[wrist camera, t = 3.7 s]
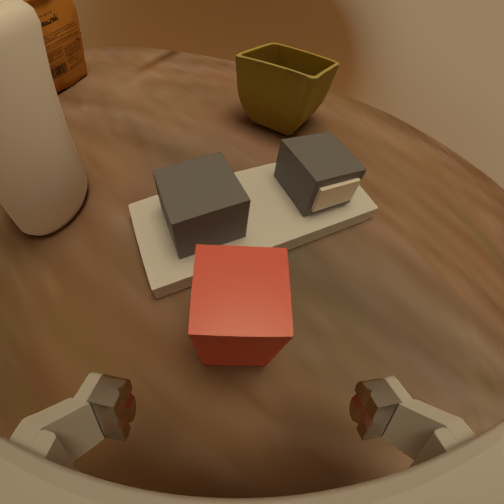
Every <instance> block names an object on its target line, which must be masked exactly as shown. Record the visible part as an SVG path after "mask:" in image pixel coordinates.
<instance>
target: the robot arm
mask: <svg viewBox="0 0 504 504" xmlns="http://www.w3.org/2000/svg"><path fill="white" fill-rule="evenodd" d="M131 390H132V385H131V381H130V380H129V379H125V378H120V377H115V376H110V375H105V374H104V375H103V374H99V373H95V372H91V373H89V375H88V376H87V378H86V379H85V381H84V382H83V384H82V385H81V387H80V389H79V390H78V392H77V393H76V395H75V396H74V398H68V399H66V400H64V401H61V402H59V403H57V404H55V405H53V406H51V407H48V408H46V409H44V410H42V411H40V412H37V413H35V414H33V415H31V416H28V417H26V418H24V419H22V421H21V422H20V424H19V425H18V427H17V428H16V430H15V431H14V433H13V434H12V436H11V437H10V439H9V440H7V439H6V438H4V437H2V436H0V504H504V420H502V421H501V422H499V423H498V424H496V425H495V426H493V427H491V428H490V429H488V430H486V431H485V432H483V433H481V434H480V435H478V436H476V435H475V434H474V433H473V432H472V430H471V429H470V428H469V427H468V426H467V424H466V423H465V422H464V421H463V419H462V418H459V417H457V416H454V415H452V414H450V413H447V412H445V411H442V410H440V409H438V408H435V407H433V406H431V405H428V404H426V403H424V402H422V401H419V400H417V399H415V400H413V399H412V398H411V396H410V395H409V394H408V392H407V391H406V390H405V389H404V387H403V386H402V385H401V383H400V382H399V381H398V380H397V378H396V377H394V376H389V377H384V378H379V379H373V380H367V381H360V382H358V383H357V384H356V387H355V391H356V393H357V394H356V395H355V396H353V397H352V398H351V402H350V406H349V412H350V416H351V418H352V420H353V421H354V422H356V423H357V424H358V426H357V428H356V429H357V431H358V433H359V435H360V437H361V439H362V441H363V440H368V439H373V438H378V437H382V438H383V439H384V440H386V441H387V442H389V443H390V444H391V445H393V446H394V447H396V448H397V449H399V450H400V451H402V452H403V453H404V454H406V455H407V456H409V457H410V458H412V459H413V460H414V461H413V463H412V464H411V465H410V467H409V468H407V469H404V470H401V471H398V472H395V473H392V474H389V475H386V476H383V477H380V478H376V479H373V480H369V481H365V482H362V483H358V484H353V485H349V486H345V487H340V488H335V489H330V490H325V491H319V492H312V493H305V494H298V495H289V496H278V497H263V498H212V497H197V496H186V495H177V494H170V493H163V492H157V491H151V490H145V489H140V488H135V487H131V486H126V485H122V484H118V483H114V482H111V481H107V480H103V479H100V478H97V477H93V476H90V475H87V474H84V473H81V472H79V471H78V469H77V468H76V466H75V465H74V463H73V462H74V461H76V460H77V459H78V458H80V457H81V456H82V455H84V454H85V453H86V452H88V451H89V450H90V449H92V448H93V447H94V446H95V445H97V444H98V443H99V442H101V441H102V440H103V439H104V437H106V438H110V439H115V440H120V441H125V442H126V440H127V438H128V435H129V432H130V425H129V423H130V422H131V421H133V420H134V417H135V413H136V401H135V397H134V396H133V395H132V394H131V393H130V392H131Z"/></svg>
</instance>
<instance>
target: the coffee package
mask: <svg viewBox="0 0 504 504" xmlns="http://www.w3.org/2000/svg"><path fill="white" fill-rule="evenodd" d="M24 2H26V3H28V4H29V5H30V6H32V7H33V8H34V10H35V12H36V14H37V16H38V18H39V20H40V22H41V28H42V33H43V39H44V44H45V48H46V53H47V57H48V62H49V66H50V70H51V74H52V78H53V81H54V85H55V89H56V92H57V94H58V93H59V92H60V91H62V90H64V89H66V88H69V87H71V86H73V85H74V84H75V83H77V82H78V81H79V80H80V79H81V78H82V77H83V76H85V75H86V74H87V69H86V63H85V58H84V51H83V46H82V38H81V32H80V27H79V21H78V16H77V12H76V8H75V5H74V4H73V1H72V0H25V1H24Z"/></svg>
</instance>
